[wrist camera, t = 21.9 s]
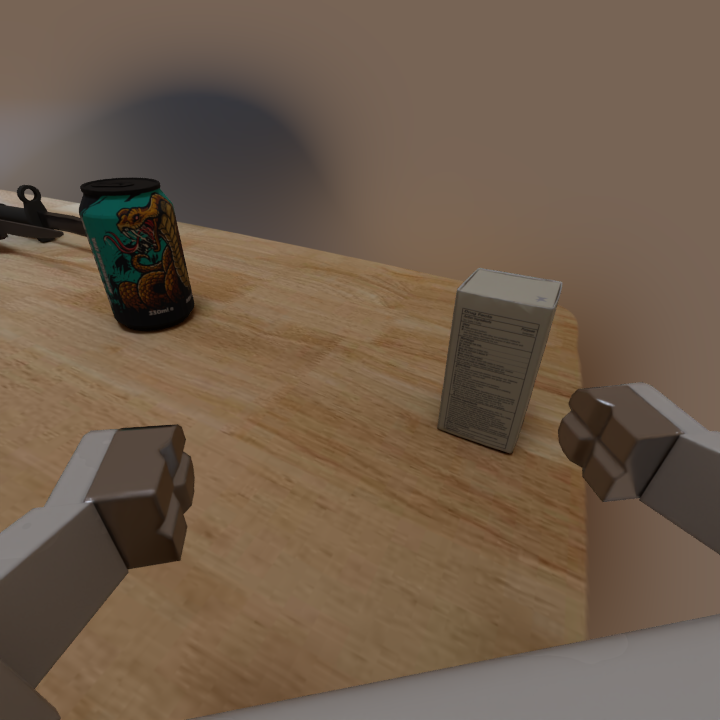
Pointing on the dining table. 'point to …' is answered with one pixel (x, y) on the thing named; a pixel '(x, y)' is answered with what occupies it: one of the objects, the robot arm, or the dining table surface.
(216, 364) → the dining table surface
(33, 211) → the knife set
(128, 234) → the beverage can
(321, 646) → the dining table surface
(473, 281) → the white carton box
